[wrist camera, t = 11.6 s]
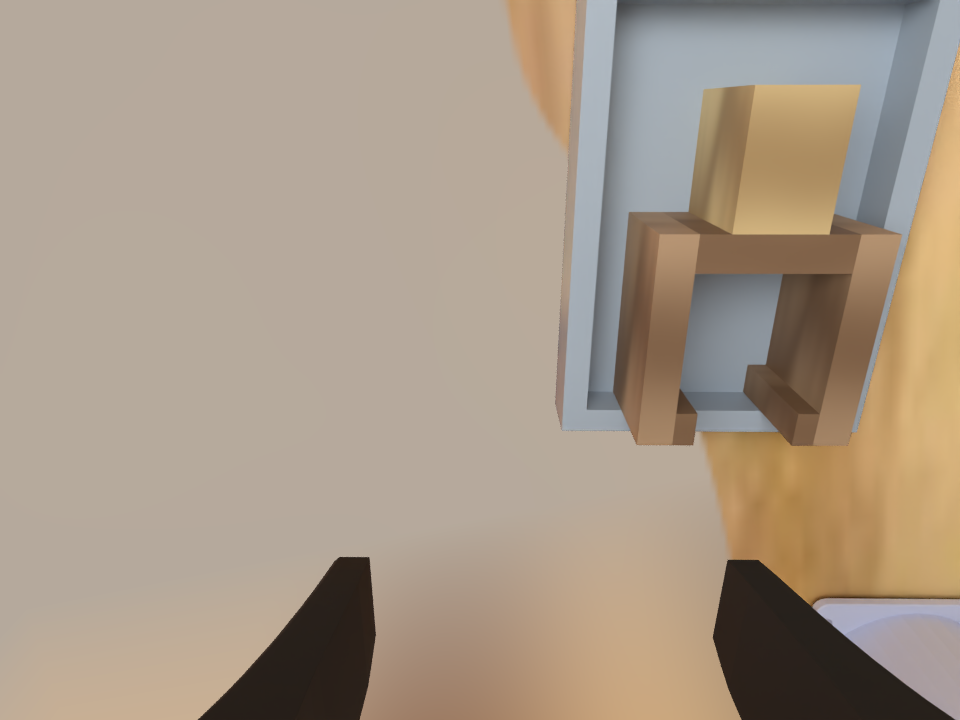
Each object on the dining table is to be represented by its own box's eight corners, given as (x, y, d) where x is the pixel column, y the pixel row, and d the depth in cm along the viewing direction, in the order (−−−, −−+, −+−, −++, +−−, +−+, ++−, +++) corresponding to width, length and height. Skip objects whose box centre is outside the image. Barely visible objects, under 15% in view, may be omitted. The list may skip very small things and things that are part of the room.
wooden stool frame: (790, 391, 21) (847, 445, 18) (613, 391, 21) (636, 445, 18) (853, 88, 17) (940, 84, 14) (639, 89, 17) (676, 84, 14)
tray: (825, 404, 22) (856, 432, 20) (555, 403, 22) (561, 430, 20) (926, -24, 17) (981, -40, 15) (577, -24, 17) (589, -41, 15)
